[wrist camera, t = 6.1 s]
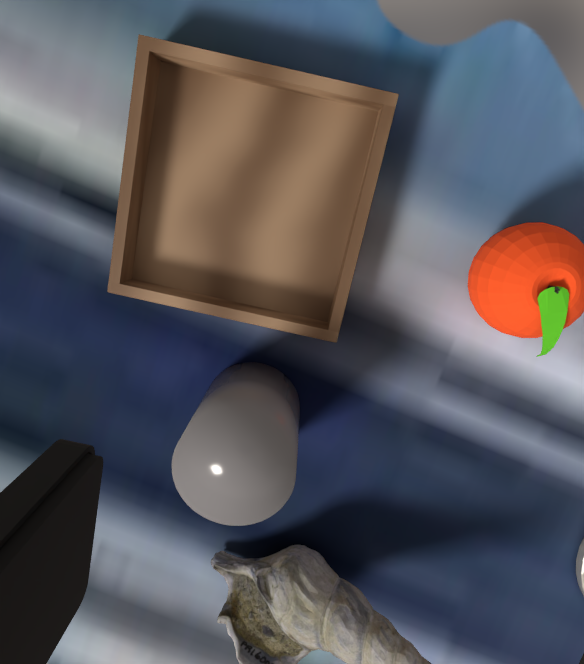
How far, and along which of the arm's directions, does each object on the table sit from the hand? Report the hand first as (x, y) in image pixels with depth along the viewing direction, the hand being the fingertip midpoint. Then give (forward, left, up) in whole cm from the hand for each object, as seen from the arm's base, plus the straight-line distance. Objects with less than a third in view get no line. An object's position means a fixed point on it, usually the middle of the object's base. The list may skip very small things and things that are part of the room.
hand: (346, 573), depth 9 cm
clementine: (-12, -4, -26) cm, 29 cm away
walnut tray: (+6, -5, -26) cm, 27 cm away
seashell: (-5, +23, -26) cm, 35 cm away
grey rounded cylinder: (+3, +9, -26) cm, 28 cm away
